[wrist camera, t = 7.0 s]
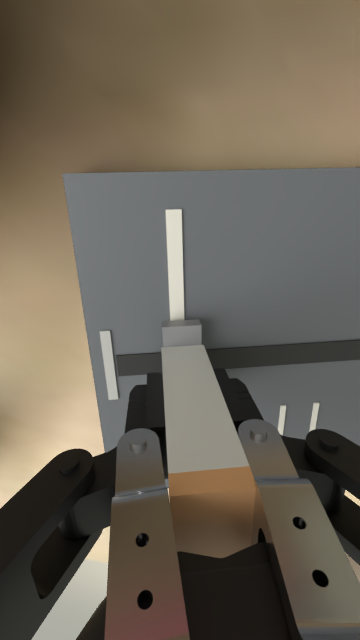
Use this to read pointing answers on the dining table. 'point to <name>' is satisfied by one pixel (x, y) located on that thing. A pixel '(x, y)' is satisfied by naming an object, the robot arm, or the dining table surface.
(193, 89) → the dining table surface
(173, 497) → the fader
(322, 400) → the console
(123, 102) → the dining table surface
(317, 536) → the robot arm
